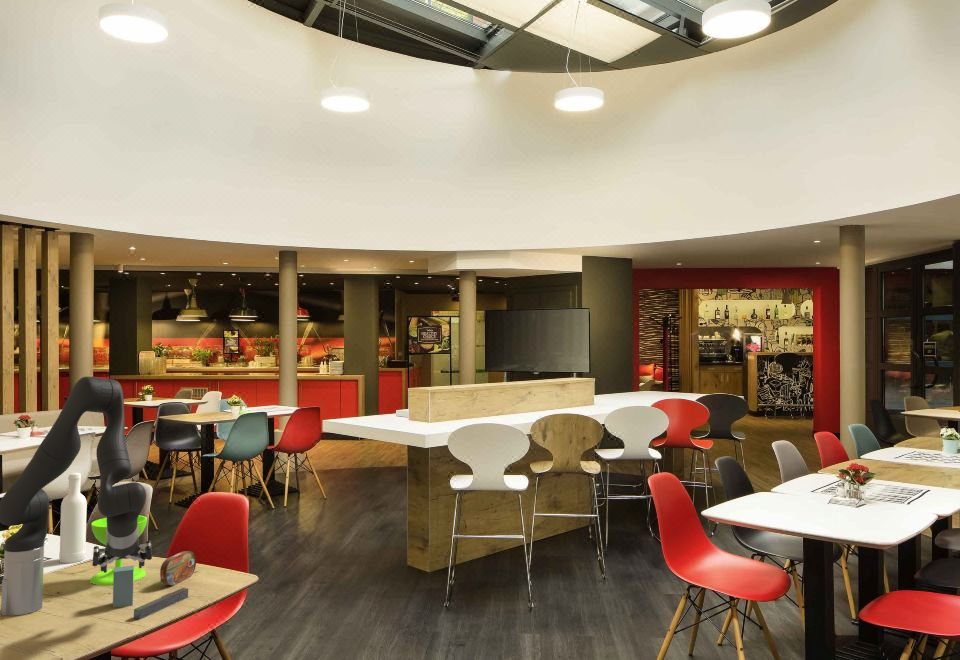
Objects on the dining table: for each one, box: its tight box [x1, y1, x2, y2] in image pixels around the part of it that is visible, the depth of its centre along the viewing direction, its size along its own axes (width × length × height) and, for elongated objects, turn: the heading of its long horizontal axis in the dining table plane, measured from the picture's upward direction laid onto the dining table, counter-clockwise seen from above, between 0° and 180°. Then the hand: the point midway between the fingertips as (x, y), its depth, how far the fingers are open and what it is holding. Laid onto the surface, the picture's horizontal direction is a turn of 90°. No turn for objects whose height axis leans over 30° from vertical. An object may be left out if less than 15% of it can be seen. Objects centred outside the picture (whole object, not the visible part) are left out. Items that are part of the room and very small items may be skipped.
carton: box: [112, 564, 134, 609], centre depth 194 cm, size 5×4×10 cm
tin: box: [159, 550, 197, 587], centre depth 214 cm, size 15×3×8 cm, turn 168°
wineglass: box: [89, 514, 148, 586], centre depth 217 cm, size 16×16×18 cm
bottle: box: [59, 472, 88, 564], centre depth 236 cm, size 8×8×30 cm
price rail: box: [133, 587, 189, 620], centre depth 191 cm, size 18×3×2 cm, turn 161°
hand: (122, 567), depth 187 cm, fingers open, 8 cm apart
